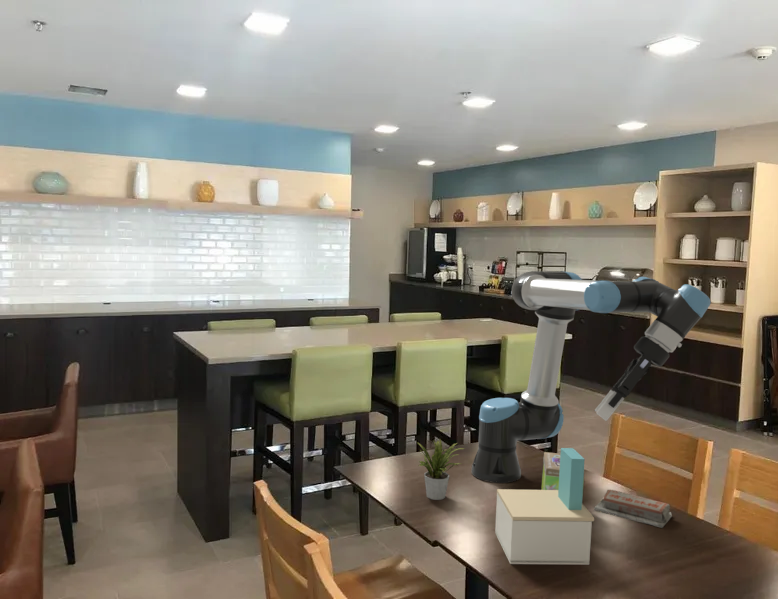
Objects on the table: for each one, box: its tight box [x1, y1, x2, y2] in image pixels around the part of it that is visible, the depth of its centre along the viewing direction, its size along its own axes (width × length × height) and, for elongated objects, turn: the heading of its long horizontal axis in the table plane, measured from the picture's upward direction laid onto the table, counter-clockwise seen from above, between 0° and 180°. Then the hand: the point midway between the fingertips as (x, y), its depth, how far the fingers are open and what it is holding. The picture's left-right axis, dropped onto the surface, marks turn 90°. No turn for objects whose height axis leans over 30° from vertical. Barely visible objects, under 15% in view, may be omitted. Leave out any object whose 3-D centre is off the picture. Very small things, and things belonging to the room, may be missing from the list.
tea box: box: [540, 451, 585, 499], centre depth 175 cm, size 15×10×15 cm
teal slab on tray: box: [496, 447, 595, 522], centre depth 154 cm, size 18×16×13 cm
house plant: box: [417, 438, 465, 501], centre depth 184 cm, size 14×14×16 cm
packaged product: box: [594, 489, 673, 529], centre depth 178 cm, size 18×5×10 cm
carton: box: [494, 493, 593, 566], centre depth 155 cm, size 18×16×10 cm
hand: (599, 415), depth 155 cm, fingers open, 13 cm apart
